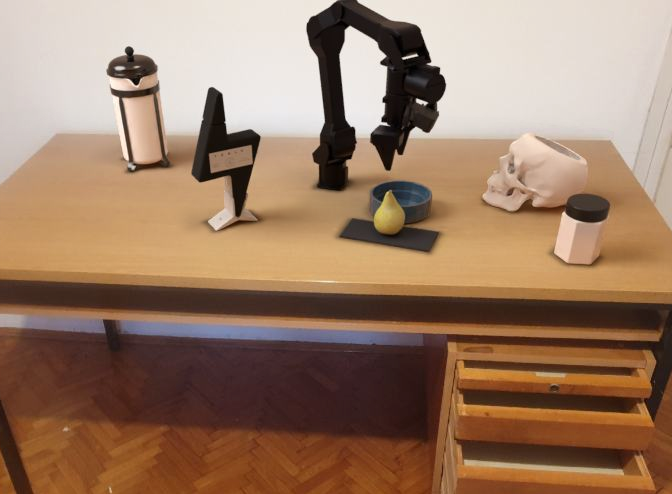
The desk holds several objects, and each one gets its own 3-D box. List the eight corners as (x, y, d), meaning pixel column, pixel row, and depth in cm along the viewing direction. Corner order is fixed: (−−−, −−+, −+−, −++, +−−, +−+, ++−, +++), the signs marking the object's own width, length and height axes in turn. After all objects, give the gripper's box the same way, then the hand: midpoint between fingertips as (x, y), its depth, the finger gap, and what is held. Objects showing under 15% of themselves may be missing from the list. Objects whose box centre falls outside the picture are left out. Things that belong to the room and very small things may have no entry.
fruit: (403, 226, 157) (407, 175, 150) (404, 242, 151) (408, 190, 144) (373, 225, 158) (375, 175, 150) (373, 241, 152) (375, 189, 144)
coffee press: (188, 156, 194) (174, 42, 176) (148, 177, 183) (129, 57, 165) (141, 145, 202) (123, 34, 184) (101, 164, 191) (78, 48, 173)
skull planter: (473, 180, 172) (522, 113, 161) (540, 219, 175) (593, 156, 163) (474, 205, 161) (527, 135, 150) (546, 245, 164) (603, 180, 153)
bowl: (361, 219, 161) (362, 201, 158) (379, 194, 172) (380, 177, 169) (421, 228, 157) (423, 210, 154) (436, 202, 167) (438, 185, 164)
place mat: (339, 237, 154) (339, 235, 154) (352, 219, 161) (352, 218, 161) (428, 252, 148) (428, 250, 148) (438, 233, 155) (438, 231, 155)
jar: (565, 241, 151) (577, 189, 143) (603, 252, 146) (617, 199, 139) (548, 257, 145) (559, 204, 138) (586, 269, 141) (600, 215, 134)
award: (205, 233, 157) (189, 98, 139) (196, 224, 161) (180, 91, 143) (266, 218, 163) (258, 86, 145) (256, 209, 166) (248, 79, 149)
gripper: (425, 110, 136) (418, 184, 146) (448, 82, 150) (440, 152, 159) (371, 103, 140) (367, 176, 149) (398, 76, 153) (393, 145, 163)
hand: (394, 162), depth 155 cm, fingers open, 9 cm apart
